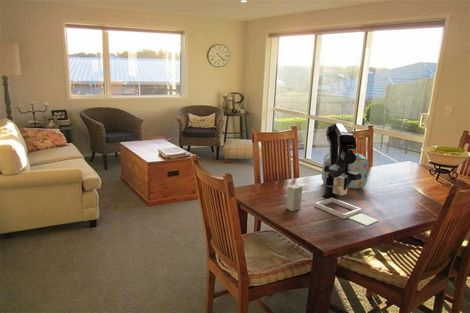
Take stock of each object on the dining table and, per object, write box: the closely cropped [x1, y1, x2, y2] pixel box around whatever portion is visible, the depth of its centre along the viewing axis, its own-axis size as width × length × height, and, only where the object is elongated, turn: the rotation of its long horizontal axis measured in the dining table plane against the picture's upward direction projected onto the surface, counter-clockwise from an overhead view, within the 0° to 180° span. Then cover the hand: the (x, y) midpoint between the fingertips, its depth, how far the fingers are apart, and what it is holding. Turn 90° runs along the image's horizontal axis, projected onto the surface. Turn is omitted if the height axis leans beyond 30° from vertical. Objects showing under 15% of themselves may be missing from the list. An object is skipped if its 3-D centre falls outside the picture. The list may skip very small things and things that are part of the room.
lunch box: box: [321, 152, 370, 190], centre depth 217 cm, size 27×10×21 cm, turn 89°
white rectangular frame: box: [314, 198, 363, 220], centre depth 184 cm, size 18×14×2 cm
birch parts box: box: [333, 176, 349, 196], centre depth 180 cm, size 5×5×8 cm
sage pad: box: [347, 212, 380, 227], centre depth 172 cm, size 10×10×1 cm
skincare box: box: [286, 183, 303, 212], centre depth 181 cm, size 6×4×12 cm
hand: (340, 188), depth 181 cm, fingers closed on birch parts box, 5 cm apart
